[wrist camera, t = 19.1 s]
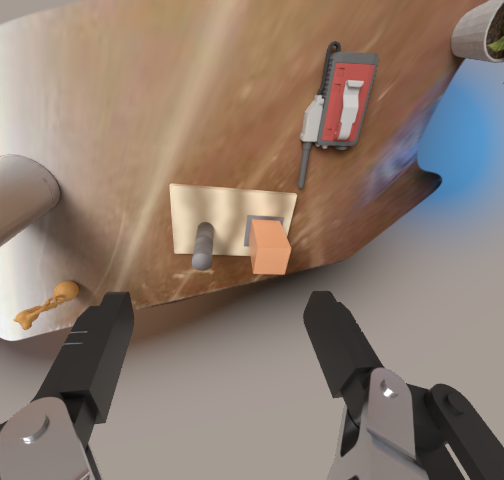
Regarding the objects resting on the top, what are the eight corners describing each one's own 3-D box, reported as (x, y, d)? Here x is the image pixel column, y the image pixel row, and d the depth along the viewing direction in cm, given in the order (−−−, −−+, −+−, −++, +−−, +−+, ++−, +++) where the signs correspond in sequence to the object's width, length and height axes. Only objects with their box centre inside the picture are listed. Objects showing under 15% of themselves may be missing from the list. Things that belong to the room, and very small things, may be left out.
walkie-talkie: (312, 41, 31) (292, 185, 42) (324, 36, 28) (298, 195, 39) (374, 45, 32) (338, 185, 43) (393, 41, 29) (349, 194, 40)
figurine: (62, 296, 51) (24, 348, 41) (39, 278, 48) (-9, 329, 38) (95, 283, 50) (63, 333, 40) (73, 264, 47) (33, 313, 37)
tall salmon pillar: (248, 243, 47) (253, 273, 39) (251, 219, 44) (257, 247, 36) (274, 244, 47) (284, 274, 40) (279, 220, 44) (291, 248, 37)
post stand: (175, 250, 47) (164, 290, 38) (170, 183, 40) (155, 214, 30) (281, 254, 51) (293, 291, 42) (295, 193, 43) (315, 223, 34)
